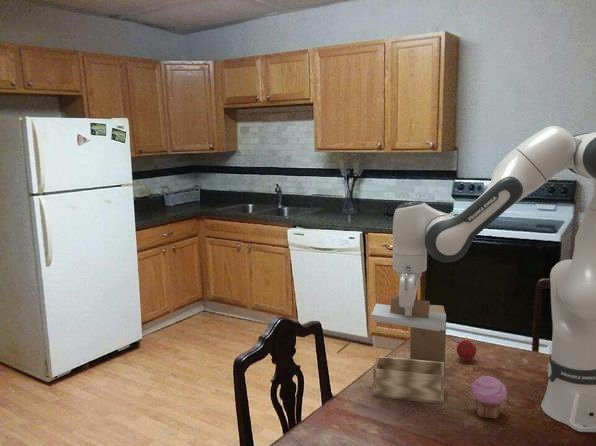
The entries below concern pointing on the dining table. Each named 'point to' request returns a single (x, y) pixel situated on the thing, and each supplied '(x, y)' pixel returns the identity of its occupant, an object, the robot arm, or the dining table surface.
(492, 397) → the cupcake
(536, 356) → the dining table surface
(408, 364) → the light wooden open box
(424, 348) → the wooden block
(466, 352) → the onion
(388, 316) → the lid
